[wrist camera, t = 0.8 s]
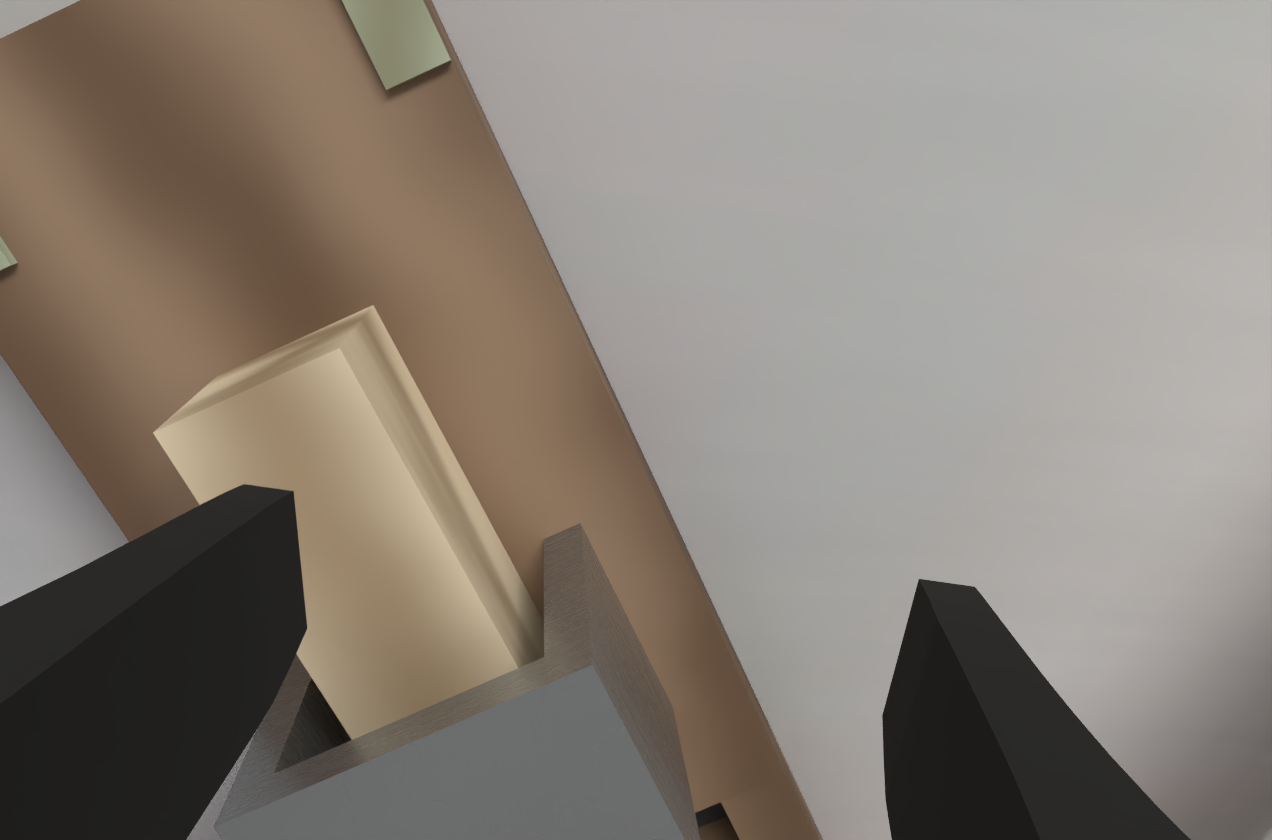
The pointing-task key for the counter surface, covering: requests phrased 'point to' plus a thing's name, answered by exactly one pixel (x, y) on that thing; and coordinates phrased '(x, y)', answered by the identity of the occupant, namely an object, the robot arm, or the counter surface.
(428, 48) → the walnut deck
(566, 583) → the metal u-shaped holder
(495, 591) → the ash block
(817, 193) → the counter surface
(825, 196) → the counter surface
